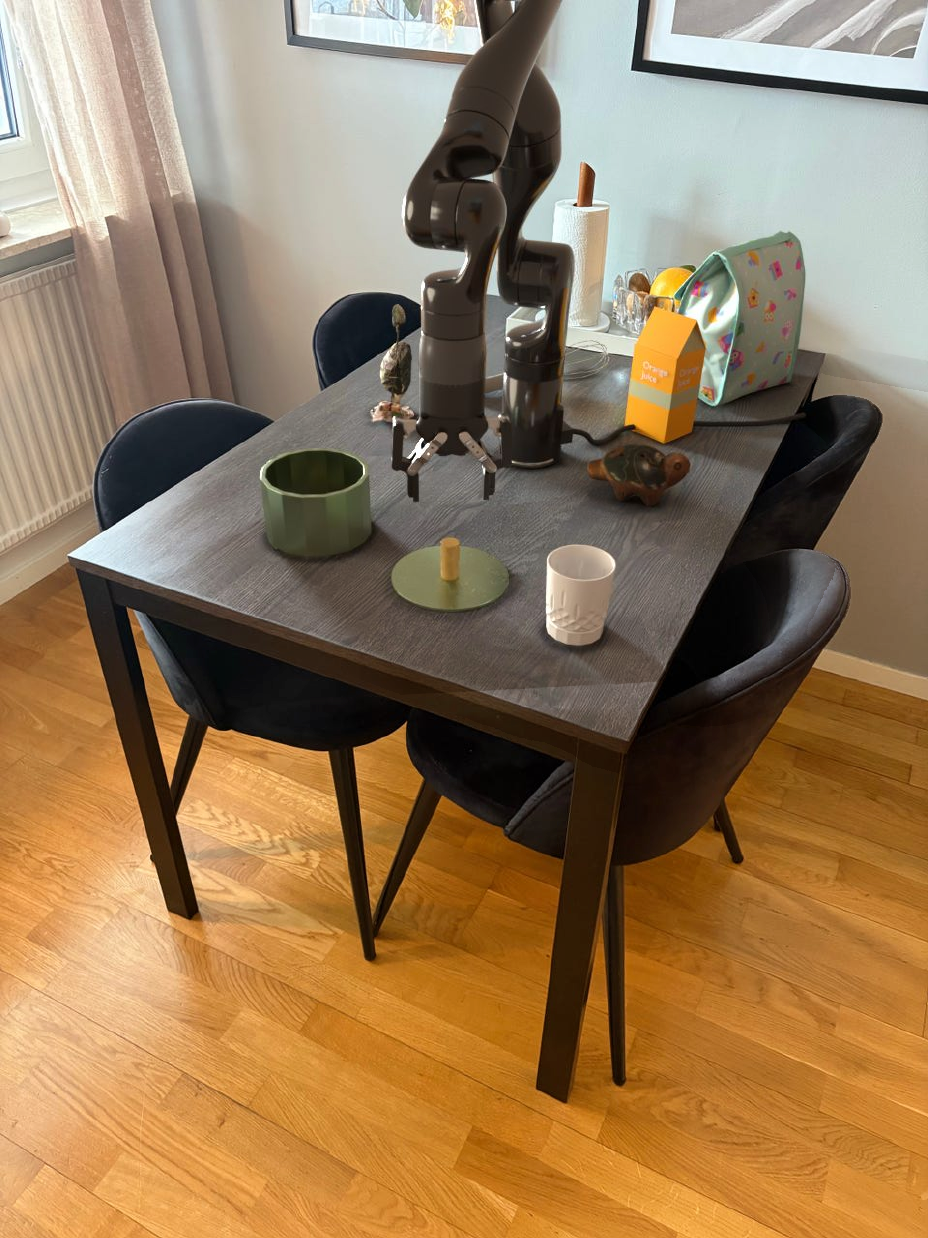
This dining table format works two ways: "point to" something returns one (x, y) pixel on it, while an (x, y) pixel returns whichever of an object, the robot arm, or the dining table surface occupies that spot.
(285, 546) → the tin
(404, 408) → the plant with pod
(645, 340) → the orange juice
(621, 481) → the decorative turtle
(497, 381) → the kitchen whisk
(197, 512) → the dining table surface
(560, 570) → the white cup
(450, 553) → the lid
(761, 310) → the lunch bag
